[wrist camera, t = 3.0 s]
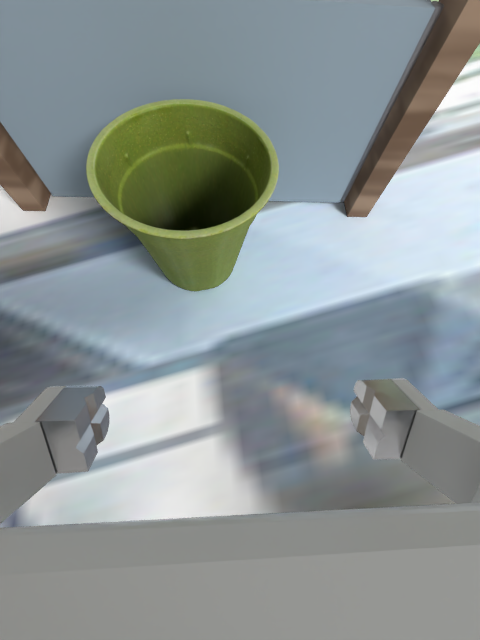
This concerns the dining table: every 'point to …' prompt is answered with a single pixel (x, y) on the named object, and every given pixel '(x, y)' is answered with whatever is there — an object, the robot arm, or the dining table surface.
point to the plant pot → (184, 184)
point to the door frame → (390, 145)
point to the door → (210, 76)
